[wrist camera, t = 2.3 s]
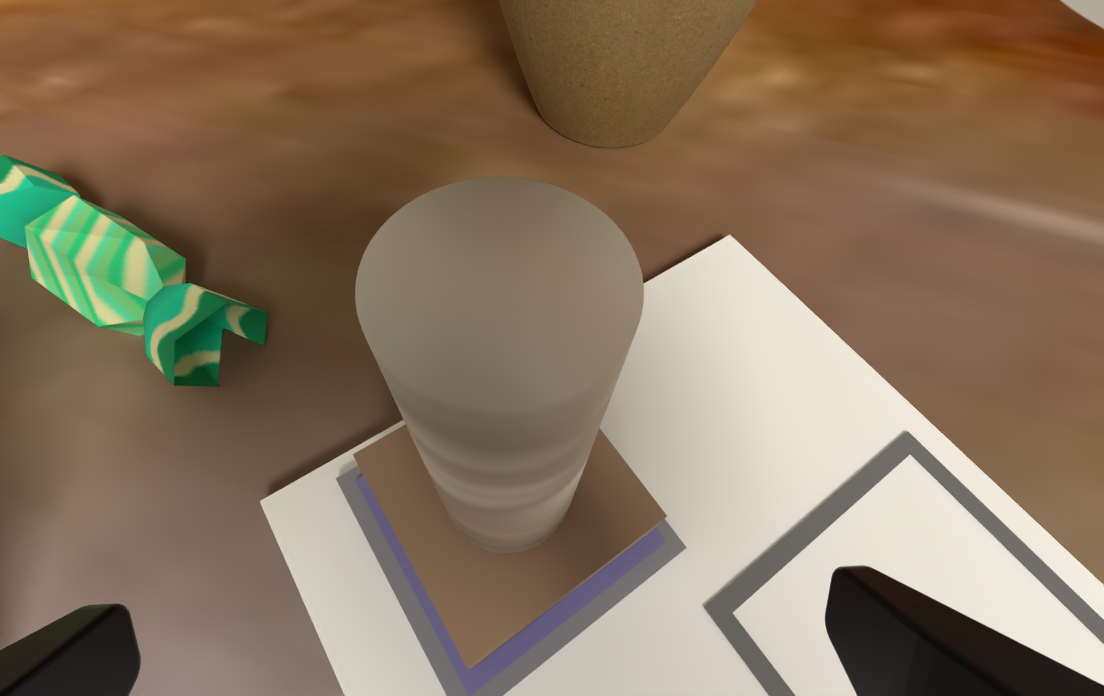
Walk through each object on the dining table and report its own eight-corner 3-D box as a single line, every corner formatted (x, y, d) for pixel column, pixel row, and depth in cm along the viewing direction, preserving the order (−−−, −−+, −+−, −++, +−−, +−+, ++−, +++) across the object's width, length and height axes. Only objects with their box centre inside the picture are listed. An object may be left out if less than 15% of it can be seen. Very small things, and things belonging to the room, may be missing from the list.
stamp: (475, 666, 15) (384, 696, 4) (377, 485, 17) (160, 215, 7) (643, 537, 17) (859, 343, 6) (535, 390, 19) (562, 68, 9)
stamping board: (700, 1484, 10) (721, 1582, 9) (267, 505, 18) (251, 496, 17) (1196, 691, 17) (1241, 694, 16) (725, 243, 24) (734, 225, 23)
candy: (-40, 251, 21) (-59, 147, 19) (65, 238, 24) (57, 147, 22) (173, 412, 18) (176, 311, 16) (261, 375, 21) (272, 286, 19)
